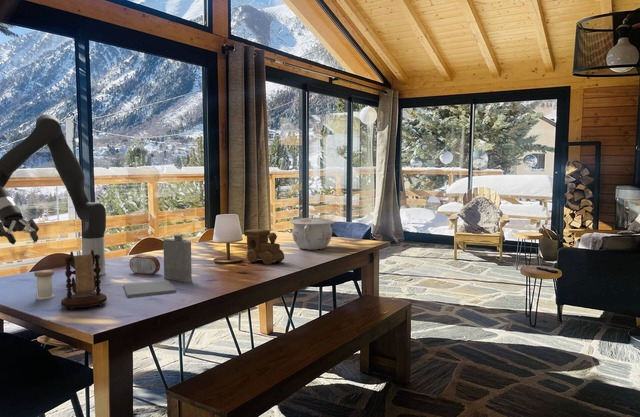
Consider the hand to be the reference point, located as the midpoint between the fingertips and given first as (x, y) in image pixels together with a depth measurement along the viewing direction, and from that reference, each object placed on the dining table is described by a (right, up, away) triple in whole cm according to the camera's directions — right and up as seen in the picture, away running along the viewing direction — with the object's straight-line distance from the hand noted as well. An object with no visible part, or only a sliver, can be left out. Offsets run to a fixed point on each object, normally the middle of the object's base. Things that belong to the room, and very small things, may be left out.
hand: (25, 241), depth 189 cm
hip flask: (+51, -19, +27) cm, 61 cm away
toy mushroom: (+10, -21, -3) cm, 23 cm away
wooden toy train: (+85, -16, +67) cm, 109 cm away
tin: (+32, -18, +39) cm, 53 cm away
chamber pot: (+109, -12, +111) cm, 156 cm away
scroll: (+29, -22, -13) cm, 39 cm away
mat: (+44, -20, +9) cm, 50 cm away
